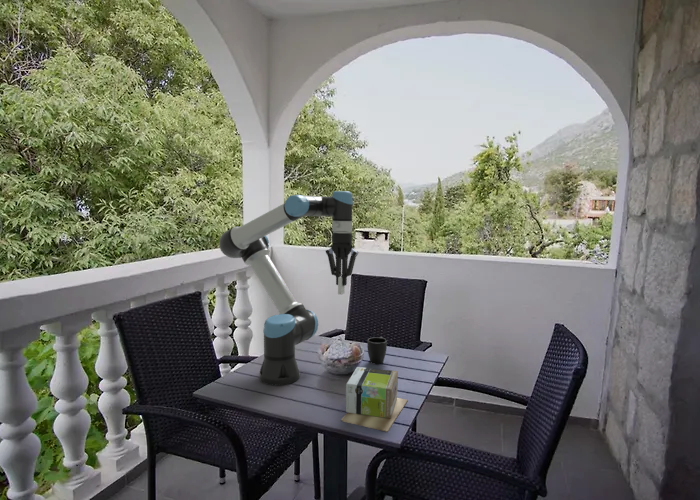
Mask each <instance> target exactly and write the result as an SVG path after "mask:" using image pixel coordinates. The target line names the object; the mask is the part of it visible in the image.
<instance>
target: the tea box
mask: <svg viewBox="0 0 700 500" xmlns="http://www.w3.org/2000/svg"><path fill="white" fill-rule="evenodd" d="M398 372H399V371H397V370H391V369H390V370H389V369H381V368H372V367H371V368H369V367H362V366H356V368H355V370H354V371H353V373H352V375H351V376H350V377H349V379H348V381H347V382H346V384H345V412H346V413H354V414H362V415H369V416H377V417H383V418H391V417H392V413H393V410H394V407H395V403H396V400H397V398H398V388H399V387H398V386H399V383H398V382H399V380H398V378H399V373H398Z"/></svg>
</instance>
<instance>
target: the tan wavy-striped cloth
mask: <svg viewBox="0 0 700 500" xmlns="http://www.w3.org/2000/svg"><path fill="white" fill-rule="evenodd" d="M407 402H408V399H405V398H400V397H397V400H396V403H395V407H394V410H393V413H392V417H391V418H383V417H377V416H369V415H362V414H354V413H348V412H346V414H345V415H344V416H343V417H342V418H341V419H340V422H342V423H343V422H344V423H348V424H352V425H355V426H360V427H363V428H364V427H366V428H369V429H374V430H378V431H382V432H386V433H388V432H389V430H390V429H391V427H392V426H393V424H394V423H395V421H396V419H397V418H398V417H399V415H400V414H401V411H402V410H403V408H404V407H405V406H406V404H407Z"/></svg>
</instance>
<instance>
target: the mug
mask: <svg viewBox="0 0 700 500" xmlns="http://www.w3.org/2000/svg"><path fill="white" fill-rule="evenodd" d="M387 343H388V340H387V339H386V338H384V337H383V336H379V337H378V336H377V337H370V338H368V339H367V346H366V347H367V355H368V359H369V362H370V363H371V362H372V363H371V364H373V363H375V364H374V365H381V364H383V363H384V360H385V357H386V353H387V345H388V344H387ZM380 363H381V364H380Z"/></svg>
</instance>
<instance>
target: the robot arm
mask: <svg viewBox="0 0 700 500" xmlns="http://www.w3.org/2000/svg"><path fill="white" fill-rule="evenodd" d="M353 199H354V198H353V193H352V192H351V191H346V190H335V191H333V192H332V195H331V196H317V195H302V194H292V195H290V196H288V197H287V198H286V200H285V202H284V203H282V204H280V205H278V206H277V207H275V208H273V209H271V210H269V211H267V212H265V213H263V214H262V215H260V216H258V217H256V218H254V219H252V220H251V221H249V222H246V223H245V224H243V225H241V226H234V227H232V228H230V229H228V230H226V231H224V233H222V234H221V235H220V238H219V242H218V243H219V244H218V245H219V246H218V247H219V249H220V251H221V253H222V254H223V255H224V256H226V257H227V258H231V259H242V261H243V262H244V264H245V265H246V266H250V267H251V269H252V270H253V272H254V273H255V275H256V278H257V279H258V280H259V282H260V284H261V285H262V287H263V288H264V291H265V292H266V294H267V296H268V297H269V298H270V300H271V301H272V304H273V305H274V307H275V309H276V310H277V312H278V314H275V315H272V316H270V317H267V319H266V320H265V321H264V323H263V361H262V364H261V367H260V370H259V373H258V374H259V375H258V376H259V377H258V379H259V381H260V382H261V383H263V384H266V385H269V386H284V385H290V384H292V383H295V382H297V381H298V380H299V378H300V369H299V366H298V364H297V360H296V346H298V345H299V344H301V343H302V342H305V341H308V340H310V339H311V338H313V337H314V336H315V335H316V333H317V332H318V329H319V320H318V316H317V315H316V314H315V312H314V311H312V310H310V309H307V308H306V307H305V306H304V304H303V303H301V302H299V301H297V300H296V298H295V296H294V295H293V293H292V292H291V290H290V289H289V287H288V285H287V284H286V281H285V280H284V278H283V276H282V275H281V274H280V272H279V271H278V269H277V267H276V265H275V264H274V262H273V260H272V258H271V257H270V255H269V254H270V245H269V243H270V241H269V238H268V235H270V234H272V233H274V232H276V231H277V230H280V229H281V228H284V227H285V226H287V225H289V224H291V223H293V222H295V221H297V220H300V219H301V218H302V219H303V218H304V217H332V219H331V220H332V225H331V226H332V228H331V230H332V234H331V235H332V236H331V243H332V244H331V246H330V248H329V249H325V254H326V255H327V257H328V263H329V268H330V275H332V276H335V285H336V286H337V294H338V295H344V294H345V286H347V283H348V280H347V279H348V277H349V276H350V277H351V276H352V274H353V269H354V266H355V262H356V259H357V256H358V255H359V251H357V250H355V249H354V247H353V234H352V231H353V208H354V206H353V205H354V203H353V202H354V201H353ZM349 255H350V258H349ZM348 259H349V261H348Z"/></svg>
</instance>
